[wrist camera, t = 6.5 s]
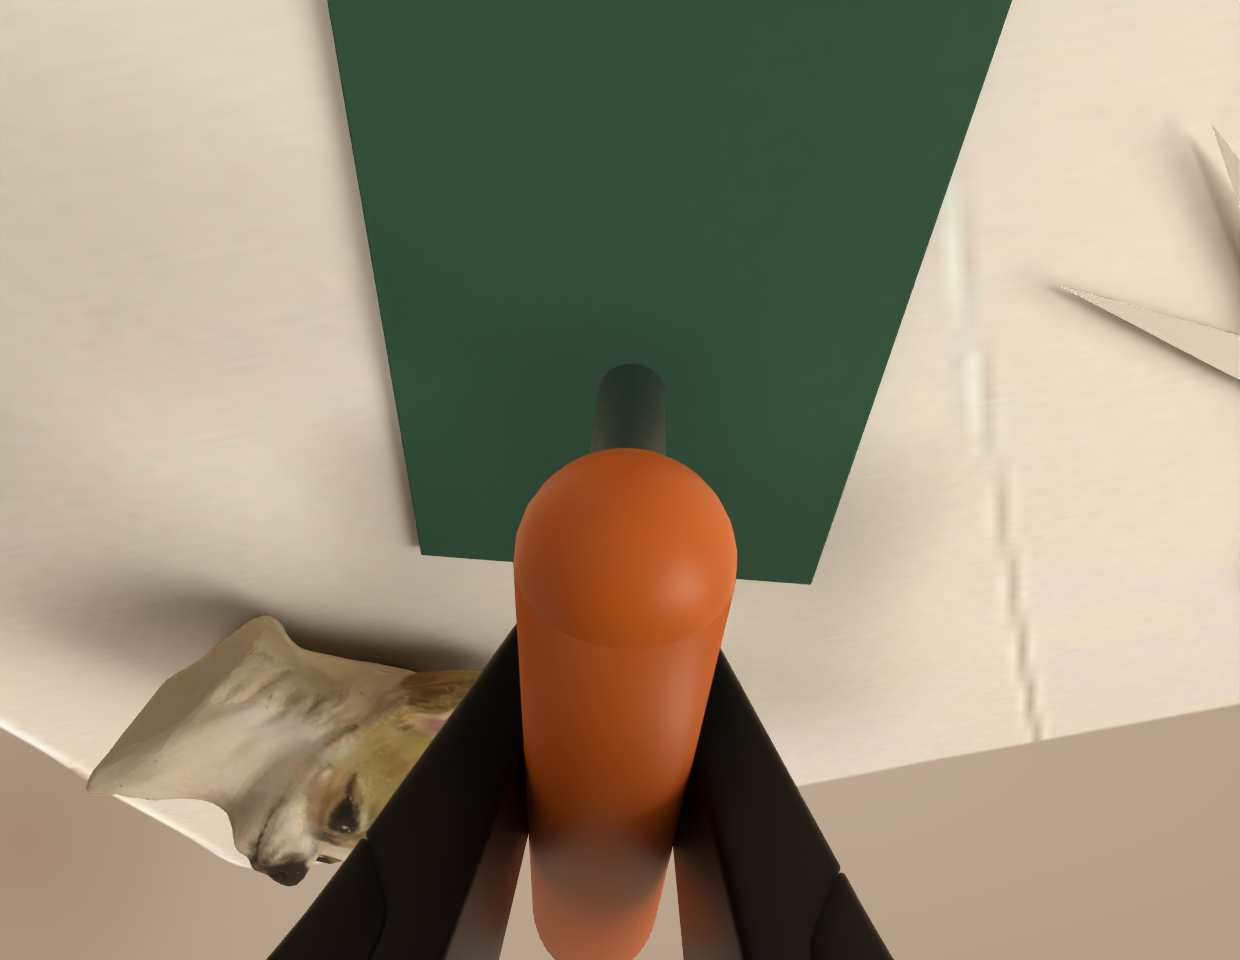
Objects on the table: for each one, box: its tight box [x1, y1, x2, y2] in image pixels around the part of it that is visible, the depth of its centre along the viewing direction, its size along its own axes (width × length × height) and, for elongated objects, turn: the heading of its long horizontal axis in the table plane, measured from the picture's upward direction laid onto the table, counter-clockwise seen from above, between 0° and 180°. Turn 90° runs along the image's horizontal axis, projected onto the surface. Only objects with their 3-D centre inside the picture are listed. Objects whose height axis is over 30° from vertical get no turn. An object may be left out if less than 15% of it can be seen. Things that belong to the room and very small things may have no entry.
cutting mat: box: [327, 0, 1012, 584], centre depth 18 cm, size 14×20×1 cm
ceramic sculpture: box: [86, 616, 482, 886], centre depth 26 cm, size 11×9×15 cm
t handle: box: [513, 364, 737, 960], centre depth 11 cm, size 2×9×9 cm, turn 177°
